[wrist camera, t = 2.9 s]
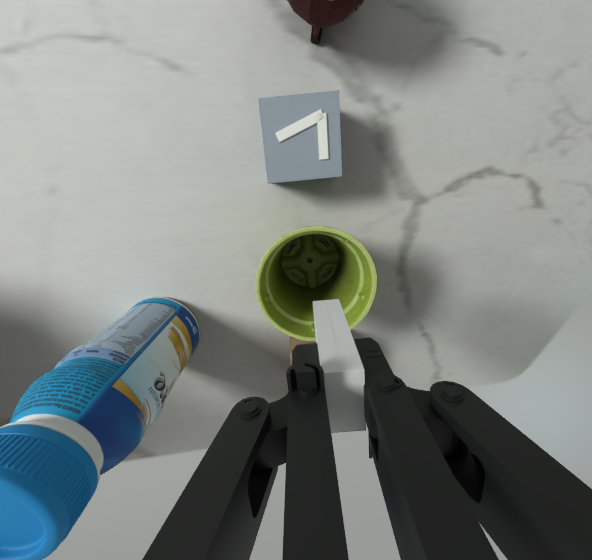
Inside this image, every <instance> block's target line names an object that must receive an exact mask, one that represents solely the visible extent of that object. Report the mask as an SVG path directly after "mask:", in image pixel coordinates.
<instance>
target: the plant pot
mask: <svg viewBox="0 0 592 560" xmlns="http://www.w3.org/2000/svg"><path fill="white" fill-rule="evenodd" d="M318 238H322V239H323V240H325V241H326V242H327V243H328V247H327V246H326V245H325V244H324V243H322V242H321V241H319V240H318ZM295 241H296V242H297V244H296V245H295V246H294V247H293V248H292V249H291V251H290V252H288V249H289V247H290V245H291V244H292V243H293V242H295ZM308 258H311V259H312V260H313V261H312V262H311V263H309V262H308V261H307V259H308ZM329 267H331V271H330V273H329V274H328V275H327V276H326V277H322V275H323V274H324V273H325V272H326V271H327V270H328V268H329ZM292 272H293V273H294V274H296V275H297V276H298V277H300V278H302V280H301V281H299V280H298V279H296V278H294V277H293V276H292V275H291V273H292ZM376 288H377V274H376V268H375V265H374V262H373V260H372V258H371V256H370V254H369V252H368V251H367V249H366V248H365V247H364V246H363V245H362V244H361V243H360V242H359V241H358V240H357V239H356V238H354V237H353V236H351V235H349V234H348V233H346V232H344V231H341V230H339V229H335V228H331V227H326V226H309V227H304V228H300V229H296V230H294V231H291V232H289V233H287V234H286V235H284V236H282V237H281V238H279V239H278V240H277V241H276V242H275V243H274V244H273V245H272V246H271V247H270V248H269V249H268V250H267V252H266V253H265V255H264V256H263V258H262V260H261V262H260V264H259V267H258V271H257V275H256V282H255V289H256V296H257V300H258V303H259V306H260V308H261V310H262V312H263V314H264V315H265V317H266V318H267V319H268V321H269V322H270V323H271V324H272V325H273V326H274V327H276V328H277V329H278V330H280V331H281V332H283V333H284V334H286V335H288V336H291V337H294V338H296V339H300V340H305V341H316V336H315V324H314V312H313V301H322V300H333V299H339V301H340V304H341V306H342V309H343V312H344V315H345V317H346V320H347V323H348V326H349V329H350V330H351V329H353V328H354V327H355V326H357V325H358V324H359V323H360V322H361V320H362V319H363V318H364V317H365V316H366V314H367V313H368V311H369V309H370V308H371V306H372V303H373V300H374V298H375V294H376Z"/></svg>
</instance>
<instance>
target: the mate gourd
mask: <svg viewBox="0 0 592 560" xmlns="http://www.w3.org/2000/svg"><path fill="white" fill-rule="evenodd" d="M287 1H288V2H289V4H290V5H291V7H292V9H293V10H294V12H295V13H296V14H298V15H299V16H300V17H301V18H302V19H304V20H305V21H306V22H307V23H309V24H311V25H312V32H311V42H312V43H314V44H319V43H320V38H321V31H322V27H326V26H330V25H332V24H335V23H338V22H340V21H343V20H344V19H345V18H347V17H348V16H349V15H350V14H351V13H352V12H353V11H354V10H357V8H358V7H359V6H360V5H361V4H362V3H363V1H364V0H287Z"/></svg>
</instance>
